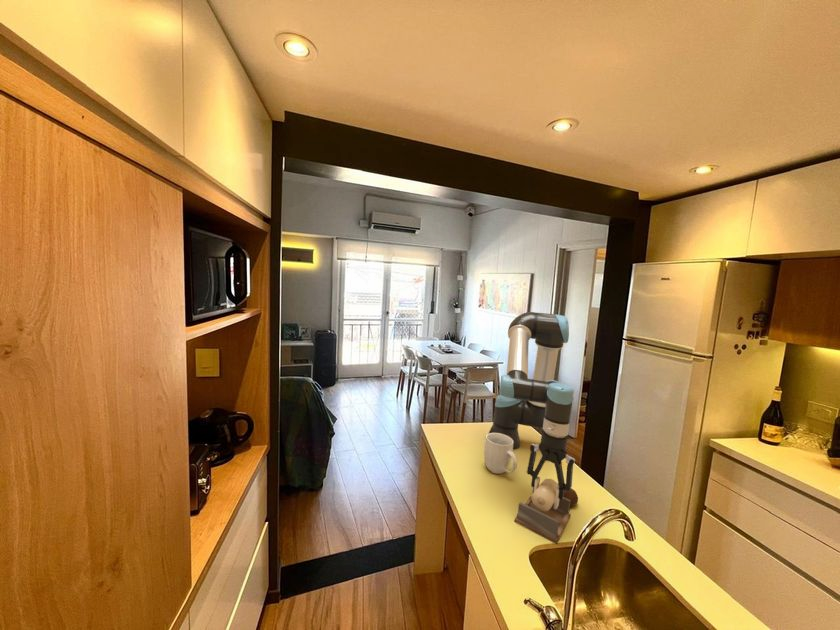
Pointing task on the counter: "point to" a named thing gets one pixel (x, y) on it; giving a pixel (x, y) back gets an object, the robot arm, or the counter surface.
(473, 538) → the counter surface
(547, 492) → the roll
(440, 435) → the counter surface
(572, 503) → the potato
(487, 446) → the mug
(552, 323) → the robot arm
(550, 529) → the cradle
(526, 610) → the counter surface
